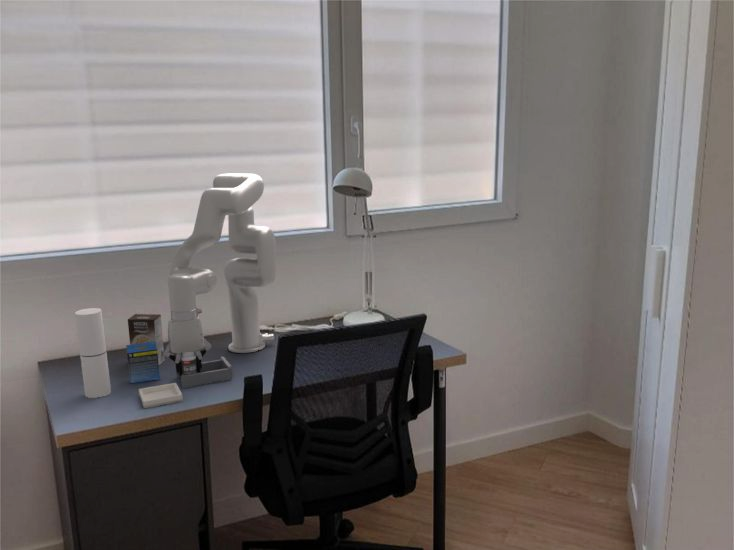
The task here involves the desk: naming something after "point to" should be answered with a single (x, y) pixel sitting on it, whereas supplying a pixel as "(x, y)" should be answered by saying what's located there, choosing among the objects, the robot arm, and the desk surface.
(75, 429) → the desk surface
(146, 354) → the label tape cartridge
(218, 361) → the bay
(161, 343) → the coffee box
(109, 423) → the desk surface
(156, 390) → the tray
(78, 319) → the cylindrical container
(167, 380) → the desk surface
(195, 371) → the pill bottle
